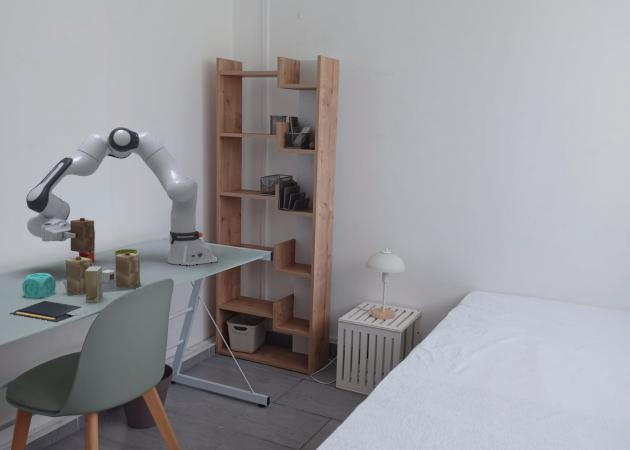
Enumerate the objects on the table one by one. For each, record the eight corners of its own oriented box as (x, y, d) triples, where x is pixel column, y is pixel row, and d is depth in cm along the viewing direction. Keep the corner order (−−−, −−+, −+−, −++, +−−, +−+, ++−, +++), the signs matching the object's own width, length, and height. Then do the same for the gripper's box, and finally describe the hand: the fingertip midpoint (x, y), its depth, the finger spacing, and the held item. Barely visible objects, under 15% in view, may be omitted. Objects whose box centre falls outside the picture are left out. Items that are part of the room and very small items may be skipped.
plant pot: (128, 275, 250) (128, 254, 249) (109, 272, 254) (109, 252, 252) (142, 270, 259) (141, 250, 258) (124, 267, 262) (123, 248, 261)
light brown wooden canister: (80, 288, 226) (79, 254, 224) (92, 290, 223) (91, 256, 221) (67, 291, 221) (65, 257, 218) (79, 294, 218) (77, 259, 215)
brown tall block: (128, 282, 235) (127, 250, 233) (140, 284, 232) (139, 252, 230) (116, 286, 230) (115, 252, 228) (128, 288, 227) (127, 254, 225)
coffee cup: (90, 264, 266) (88, 231, 263) (73, 263, 267) (71, 230, 265) (100, 260, 274) (99, 228, 271) (84, 259, 275) (82, 226, 273)
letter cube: (108, 279, 239) (108, 269, 238) (115, 280, 237) (115, 271, 236) (100, 281, 235) (100, 271, 235) (108, 283, 234) (107, 273, 233)
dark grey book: (89, 306, 204) (54, 319, 190) (89, 311, 205) (55, 324, 191) (44, 298, 212) (8, 310, 198) (45, 303, 212) (8, 315, 198)
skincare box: (90, 299, 216) (89, 266, 214) (103, 299, 216) (102, 266, 214) (85, 304, 210) (84, 270, 208) (98, 304, 210) (97, 270, 208)
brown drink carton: (83, 248, 244) (82, 216, 242) (94, 250, 241) (94, 218, 240) (70, 250, 239) (70, 218, 237) (81, 252, 236) (81, 219, 234)
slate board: (134, 278, 246) (134, 275, 246) (144, 290, 228) (144, 288, 228) (63, 284, 234) (62, 282, 233) (68, 298, 216) (68, 295, 216)
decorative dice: (37, 293, 221) (36, 272, 220) (56, 295, 220) (55, 273, 218) (22, 299, 214) (21, 277, 212) (42, 301, 212) (41, 279, 211)
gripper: (80, 233, 255) (104, 237, 248) (38, 242, 237) (63, 246, 231) (79, 219, 254) (103, 222, 247) (37, 226, 236) (62, 230, 229)
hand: (83, 234), depth 239 cm, fingers closed on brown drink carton, 6 cm apart
